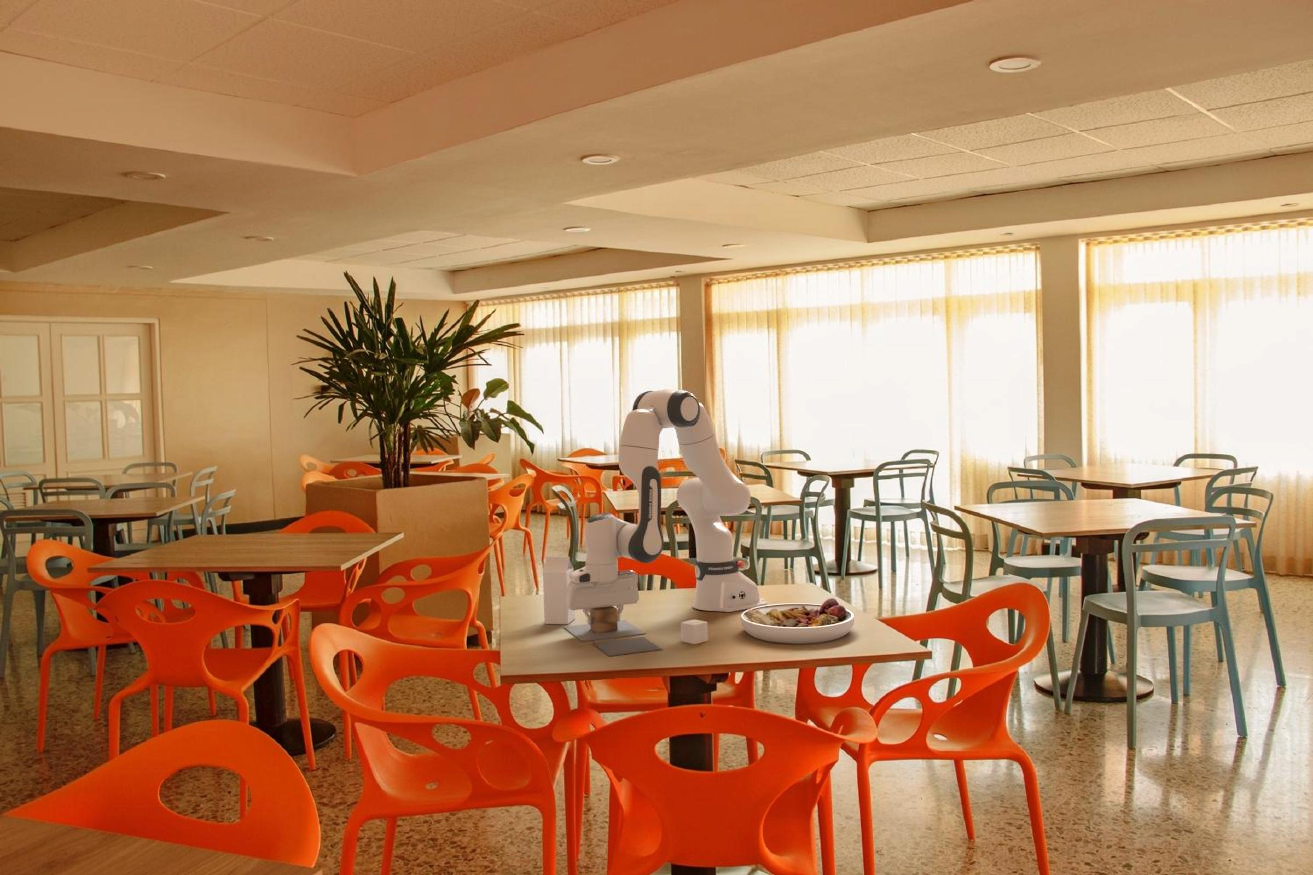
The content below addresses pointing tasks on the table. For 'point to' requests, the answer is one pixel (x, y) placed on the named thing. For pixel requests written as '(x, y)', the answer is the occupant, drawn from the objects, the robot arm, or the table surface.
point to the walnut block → (604, 619)
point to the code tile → (588, 634)
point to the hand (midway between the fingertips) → (603, 622)
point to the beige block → (694, 631)
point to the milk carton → (557, 590)
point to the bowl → (798, 622)
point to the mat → (627, 646)
